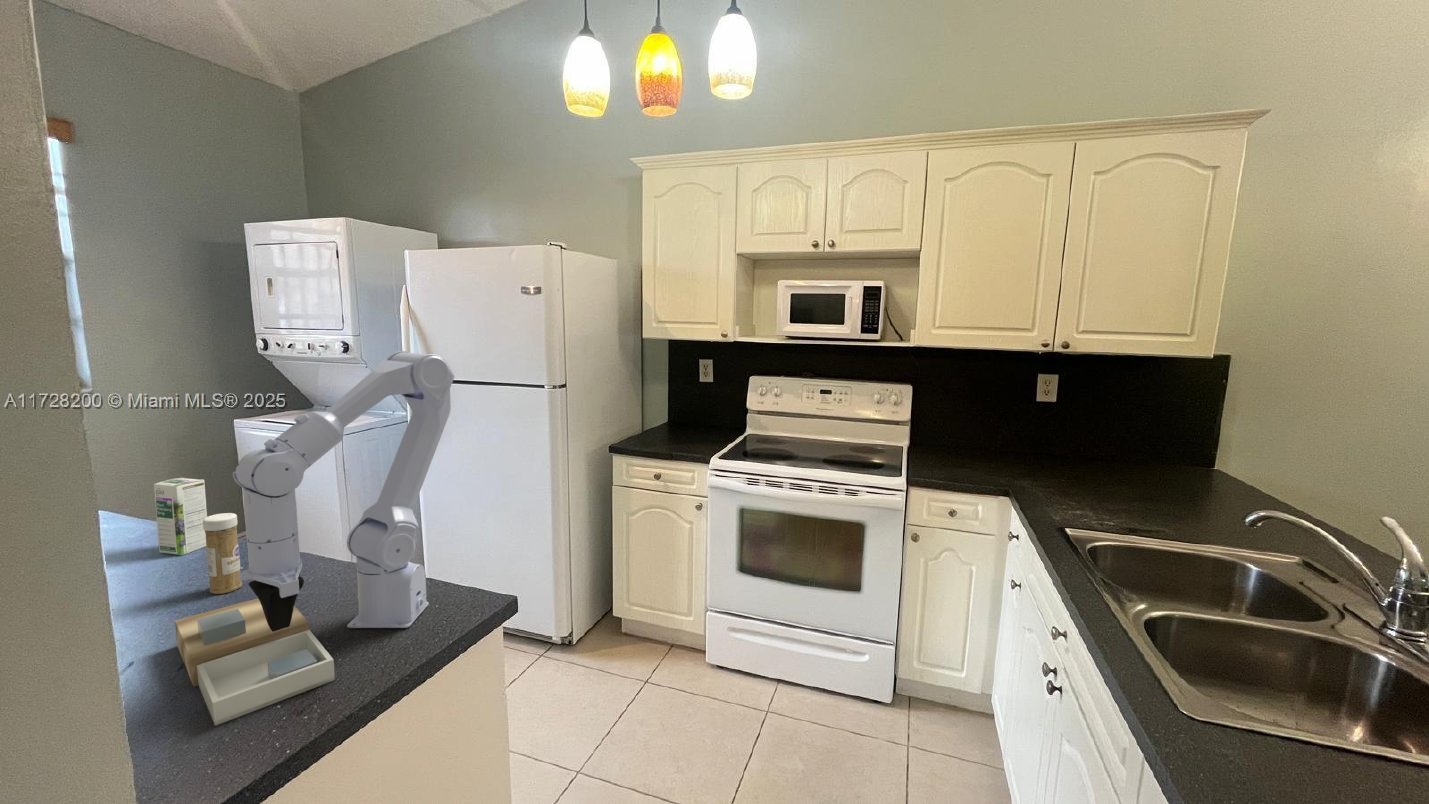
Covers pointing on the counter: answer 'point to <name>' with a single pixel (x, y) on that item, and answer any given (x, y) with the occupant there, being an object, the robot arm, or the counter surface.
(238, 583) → the sprinkles bottle
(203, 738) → the counter surface
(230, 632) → the slate tile
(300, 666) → the slate tile
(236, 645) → the maple bench
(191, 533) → the syrup box
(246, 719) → the counter surface
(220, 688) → the tray
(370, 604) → the robot arm
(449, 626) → the counter surface
